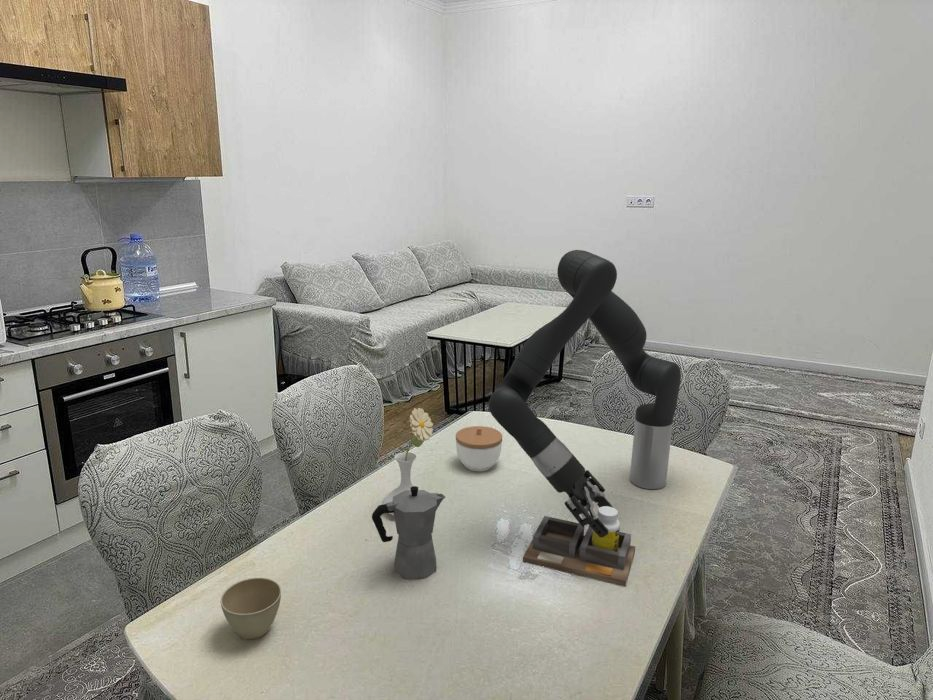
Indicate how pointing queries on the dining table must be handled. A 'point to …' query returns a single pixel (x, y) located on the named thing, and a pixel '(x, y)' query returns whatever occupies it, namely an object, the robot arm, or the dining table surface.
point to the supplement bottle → (612, 524)
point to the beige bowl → (251, 606)
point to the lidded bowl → (478, 447)
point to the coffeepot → (411, 531)
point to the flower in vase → (405, 459)
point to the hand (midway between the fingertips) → (609, 524)
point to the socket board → (579, 552)
